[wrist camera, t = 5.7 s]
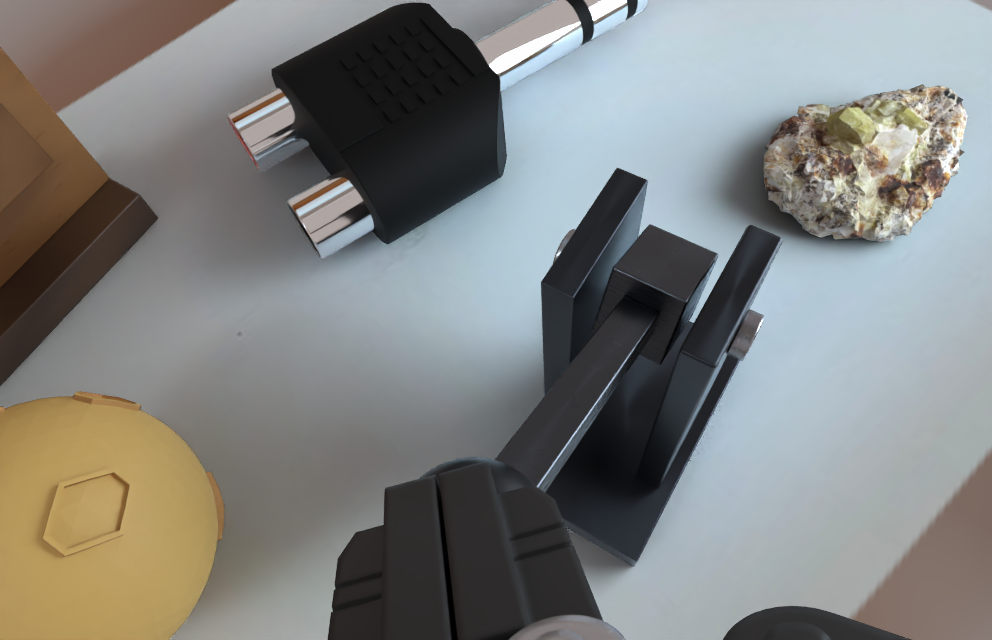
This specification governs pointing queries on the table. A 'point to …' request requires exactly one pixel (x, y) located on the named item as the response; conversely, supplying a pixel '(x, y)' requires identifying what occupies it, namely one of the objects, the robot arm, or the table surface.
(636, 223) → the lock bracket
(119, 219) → the door
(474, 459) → the lever
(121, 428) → the stress ball
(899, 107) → the mineral rock
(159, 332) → the table surface
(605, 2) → the audio adapter
